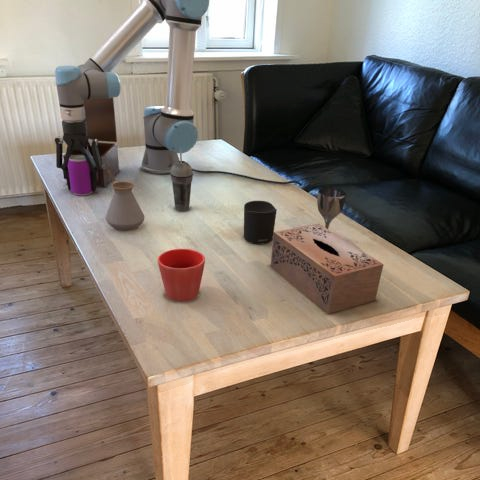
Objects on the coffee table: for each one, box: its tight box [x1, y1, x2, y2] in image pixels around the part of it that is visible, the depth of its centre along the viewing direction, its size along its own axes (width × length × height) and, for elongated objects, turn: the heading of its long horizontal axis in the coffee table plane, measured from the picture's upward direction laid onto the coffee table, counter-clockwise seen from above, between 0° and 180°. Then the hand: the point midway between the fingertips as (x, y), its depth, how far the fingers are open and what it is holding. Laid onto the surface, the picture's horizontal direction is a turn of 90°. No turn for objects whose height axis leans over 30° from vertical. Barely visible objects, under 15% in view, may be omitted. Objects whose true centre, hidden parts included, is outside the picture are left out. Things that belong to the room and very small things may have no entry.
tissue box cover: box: [270, 223, 384, 315], centre depth 129 cm, size 26×14×10 cm, turn 29°
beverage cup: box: [169, 148, 194, 212], centre depth 164 cm, size 7×7×20 cm
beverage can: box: [68, 155, 94, 197], centre depth 174 cm, size 8×8×12 cm
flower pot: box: [157, 248, 206, 303], centre depth 121 cm, size 11×11×10 cm
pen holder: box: [243, 200, 278, 245], centre depth 150 cm, size 9×9×10 cm
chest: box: [63, 141, 120, 188], centre depth 187 cm, size 19×14×10 cm
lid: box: [84, 97, 118, 143], centre depth 189 cm, size 20×14×7 cm
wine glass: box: [316, 186, 347, 230], centre depth 149 cm, size 8×8×15 cm
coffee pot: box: [102, 163, 145, 232], centre depth 154 cm, size 21×12×15 cm, turn 30°
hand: (82, 189), depth 176 cm, fingers closed on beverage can, 8 cm apart
